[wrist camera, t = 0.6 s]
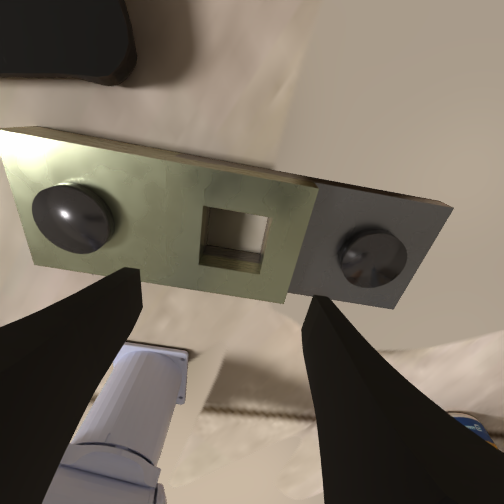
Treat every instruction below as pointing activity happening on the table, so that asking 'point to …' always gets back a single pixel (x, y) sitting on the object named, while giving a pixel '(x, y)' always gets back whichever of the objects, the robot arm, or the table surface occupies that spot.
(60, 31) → the black sponge
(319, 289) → the green peg socket base
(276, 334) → the table surface
